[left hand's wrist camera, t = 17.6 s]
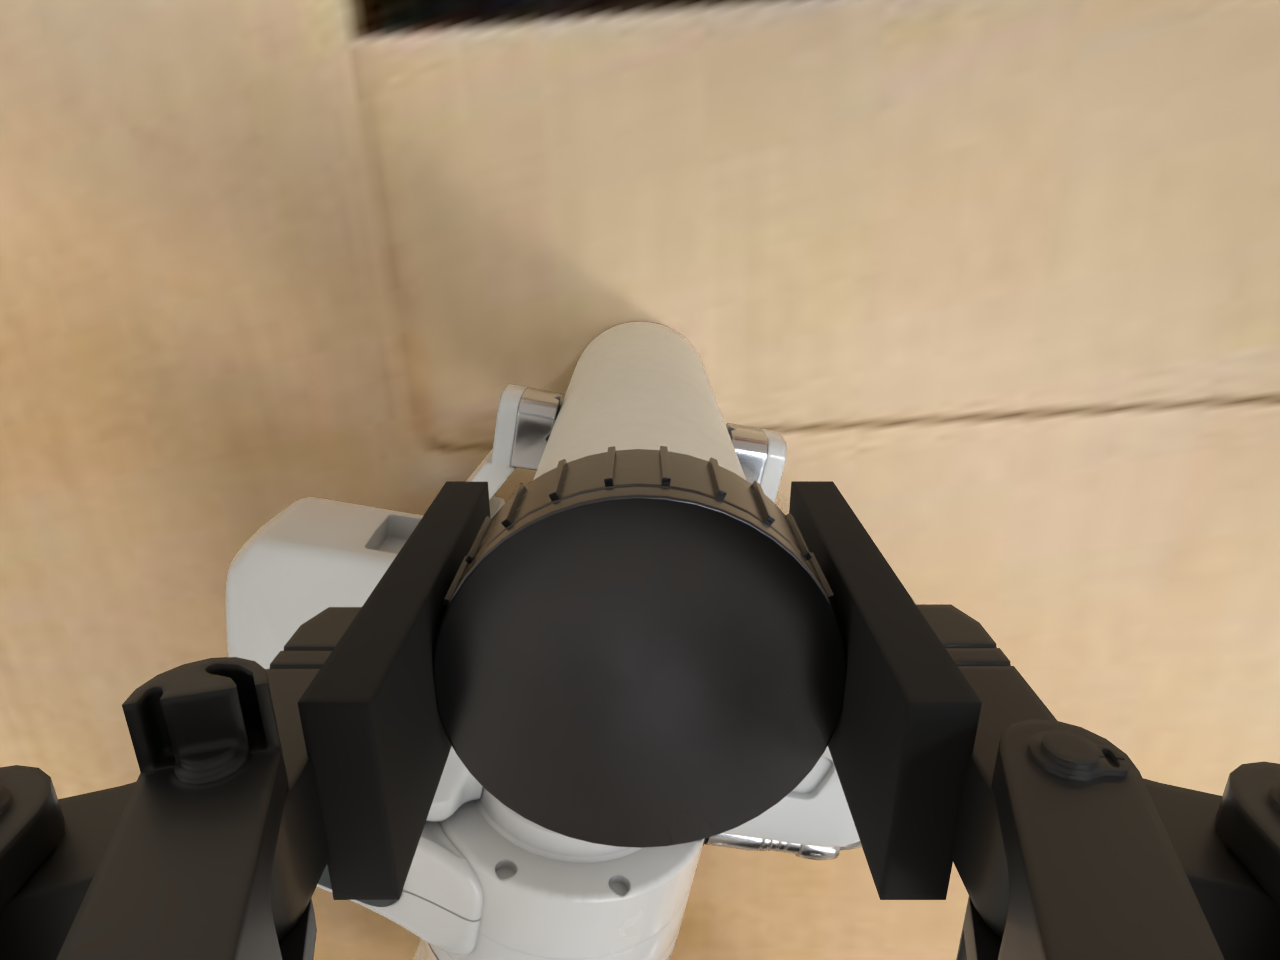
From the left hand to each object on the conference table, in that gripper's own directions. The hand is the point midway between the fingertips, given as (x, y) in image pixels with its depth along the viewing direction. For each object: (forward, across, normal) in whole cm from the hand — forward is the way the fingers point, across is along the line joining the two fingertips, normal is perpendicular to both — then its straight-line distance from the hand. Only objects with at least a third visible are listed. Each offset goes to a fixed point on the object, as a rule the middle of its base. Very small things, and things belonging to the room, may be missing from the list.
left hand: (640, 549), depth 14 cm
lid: (-4, 0, 0) cm, 4 cm away
